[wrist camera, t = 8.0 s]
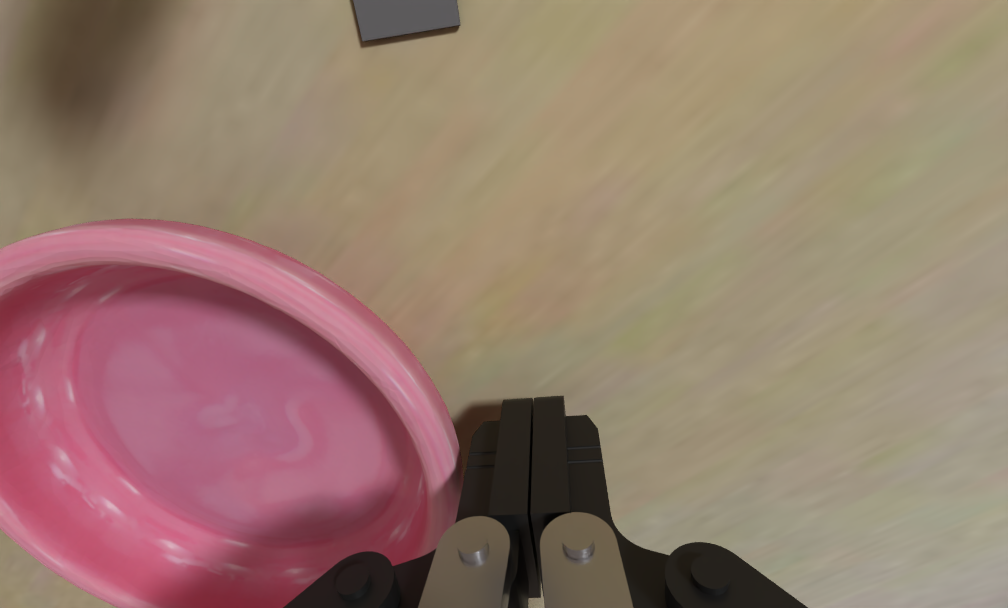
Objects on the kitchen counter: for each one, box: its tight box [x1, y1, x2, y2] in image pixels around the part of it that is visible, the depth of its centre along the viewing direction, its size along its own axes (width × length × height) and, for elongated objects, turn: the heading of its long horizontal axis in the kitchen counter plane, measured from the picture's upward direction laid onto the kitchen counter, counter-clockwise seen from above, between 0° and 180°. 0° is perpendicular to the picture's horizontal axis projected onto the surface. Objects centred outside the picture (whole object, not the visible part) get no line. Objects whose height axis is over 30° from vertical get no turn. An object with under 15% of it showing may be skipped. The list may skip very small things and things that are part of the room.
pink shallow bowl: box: [0, 219, 463, 608], centre depth 13 cm, size 12×12×3 cm
